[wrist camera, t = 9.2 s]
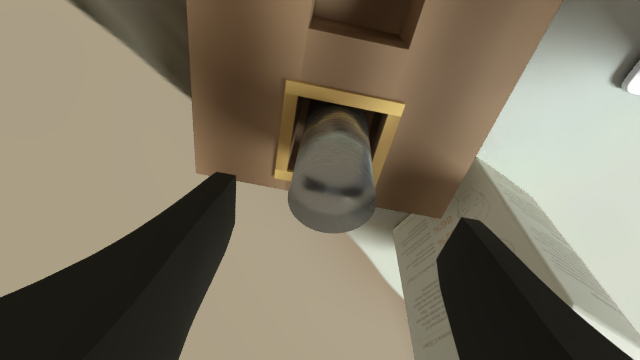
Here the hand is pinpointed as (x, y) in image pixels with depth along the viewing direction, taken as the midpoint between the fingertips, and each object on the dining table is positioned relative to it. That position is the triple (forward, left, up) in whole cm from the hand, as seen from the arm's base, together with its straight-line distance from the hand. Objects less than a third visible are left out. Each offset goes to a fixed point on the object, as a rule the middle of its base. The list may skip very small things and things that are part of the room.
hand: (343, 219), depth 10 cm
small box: (-10, +6, -10) cm, 15 cm away
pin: (0, 0, -9) cm, 9 cm away
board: (0, -3, -10) cm, 10 cm away
